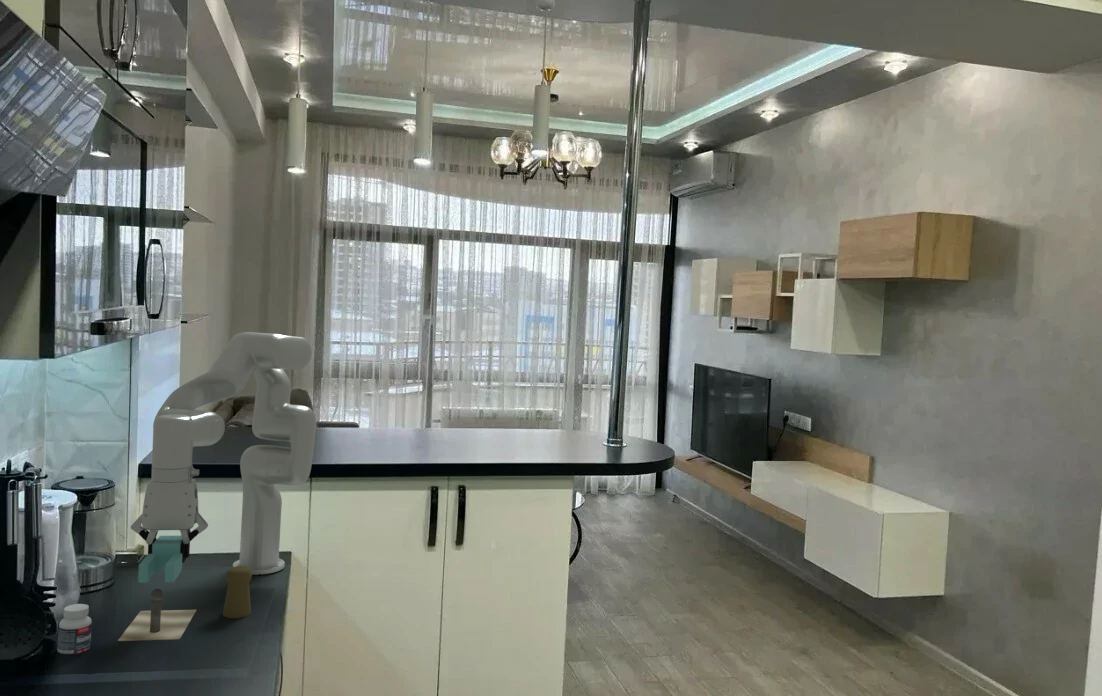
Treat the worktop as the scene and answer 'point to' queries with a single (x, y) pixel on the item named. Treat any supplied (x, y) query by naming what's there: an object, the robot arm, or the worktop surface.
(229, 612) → the cork
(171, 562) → the link
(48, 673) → the worktop surface
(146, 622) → the stand
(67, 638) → the pill bottle
